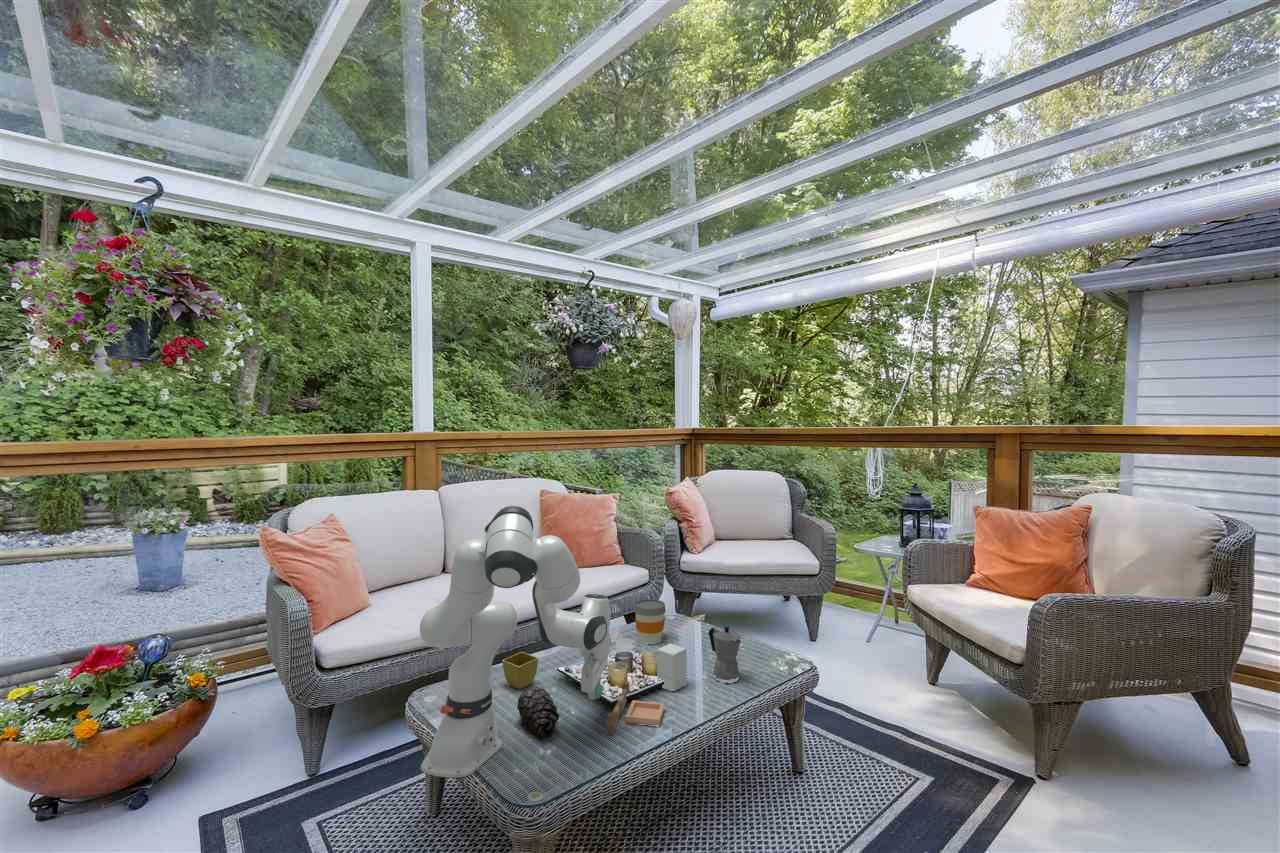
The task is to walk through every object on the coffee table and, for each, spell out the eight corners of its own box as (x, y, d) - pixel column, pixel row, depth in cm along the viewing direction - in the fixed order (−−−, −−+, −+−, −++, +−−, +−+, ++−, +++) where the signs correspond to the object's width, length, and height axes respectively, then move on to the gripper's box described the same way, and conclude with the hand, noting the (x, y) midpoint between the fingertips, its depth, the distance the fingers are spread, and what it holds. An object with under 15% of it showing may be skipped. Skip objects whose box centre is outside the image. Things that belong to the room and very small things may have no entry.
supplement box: (687, 685, 199) (687, 648, 199) (673, 693, 194) (673, 655, 194) (670, 678, 204) (670, 642, 204) (656, 685, 199) (656, 648, 199)
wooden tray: (659, 727, 173) (659, 720, 173) (625, 723, 175) (625, 716, 175) (664, 710, 182) (664, 703, 182) (632, 707, 184) (632, 700, 184)
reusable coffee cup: (631, 645, 233) (631, 608, 233) (637, 634, 245) (637, 598, 245) (663, 648, 231) (663, 610, 231) (667, 636, 243) (667, 600, 243)
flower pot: (518, 694, 193) (519, 666, 192) (501, 686, 198) (501, 659, 198) (538, 684, 200) (539, 657, 199) (521, 677, 205) (521, 651, 205)
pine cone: (538, 746, 163) (538, 710, 162) (511, 719, 177) (511, 686, 177) (571, 734, 169) (571, 700, 168) (542, 709, 183) (542, 677, 183)
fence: (613, 735, 168) (613, 716, 168) (607, 734, 169) (607, 715, 168) (629, 699, 190) (629, 681, 189) (623, 698, 190) (623, 681, 190)
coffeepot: (749, 682, 202) (750, 629, 202) (730, 689, 197) (730, 635, 196) (718, 666, 215) (719, 617, 214) (699, 672, 209) (699, 622, 209)
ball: (600, 703, 175) (601, 686, 175) (584, 701, 175) (584, 685, 175) (604, 695, 180) (604, 679, 179) (588, 693, 180) (588, 677, 180)
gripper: (597, 663, 166) (597, 711, 167) (611, 635, 187) (611, 678, 187) (575, 661, 167) (575, 709, 168) (592, 634, 187) (591, 677, 188)
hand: (594, 693), depth 178 cm, fingers closed on ball, 5 cm apart
